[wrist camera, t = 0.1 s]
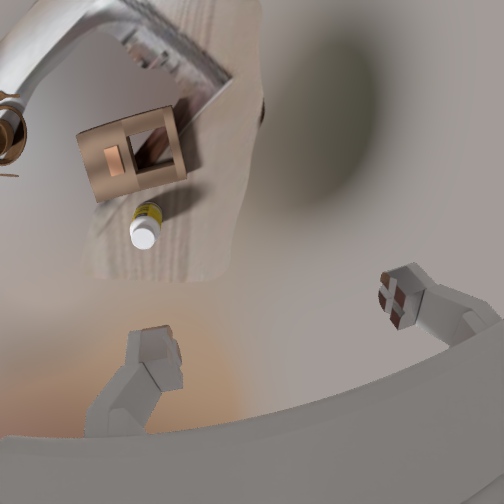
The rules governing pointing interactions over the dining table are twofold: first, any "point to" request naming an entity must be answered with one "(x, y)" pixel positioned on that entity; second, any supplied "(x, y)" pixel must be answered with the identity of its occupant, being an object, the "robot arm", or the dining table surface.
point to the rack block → (128, 155)
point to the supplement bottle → (146, 225)
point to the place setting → (11, 137)
